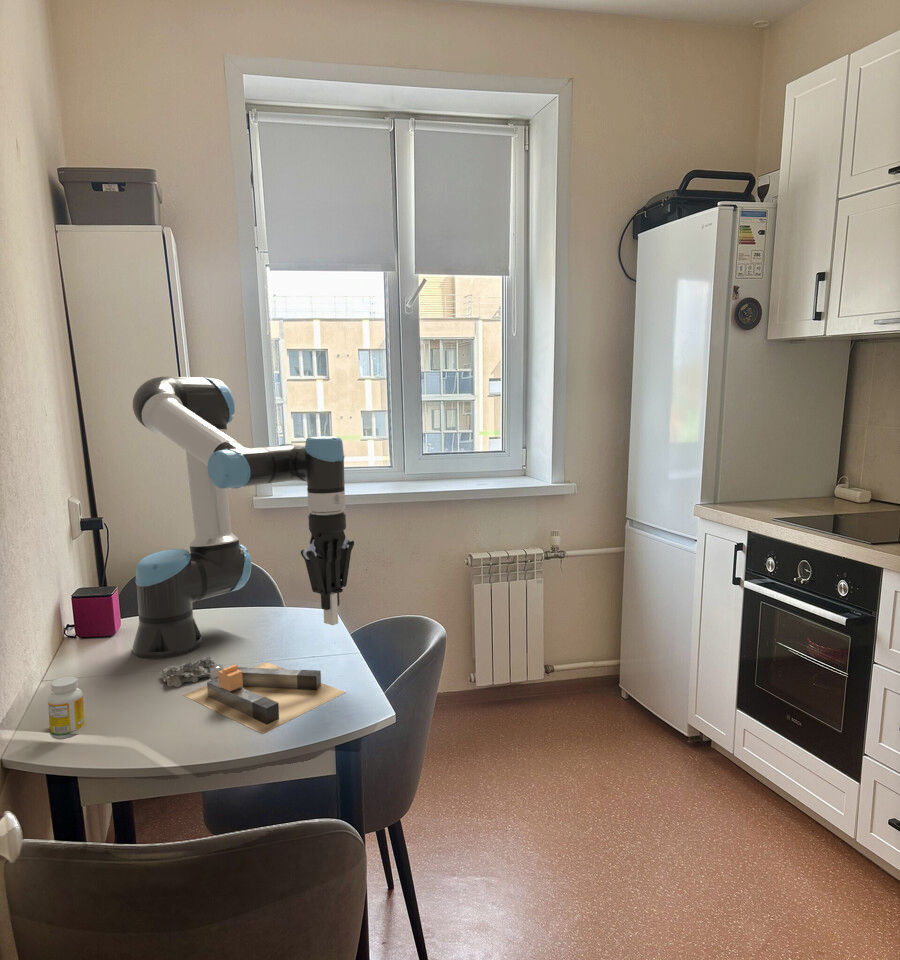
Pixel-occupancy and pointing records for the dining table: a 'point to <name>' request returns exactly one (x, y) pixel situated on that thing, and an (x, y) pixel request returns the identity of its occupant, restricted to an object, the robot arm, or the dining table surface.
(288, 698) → the board
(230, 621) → the dining table surface
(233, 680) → the tab
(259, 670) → the bar
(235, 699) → the tongs fixed
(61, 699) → the supplement bottle
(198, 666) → the grey lumpy stone piece
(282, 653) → the dining table surface
